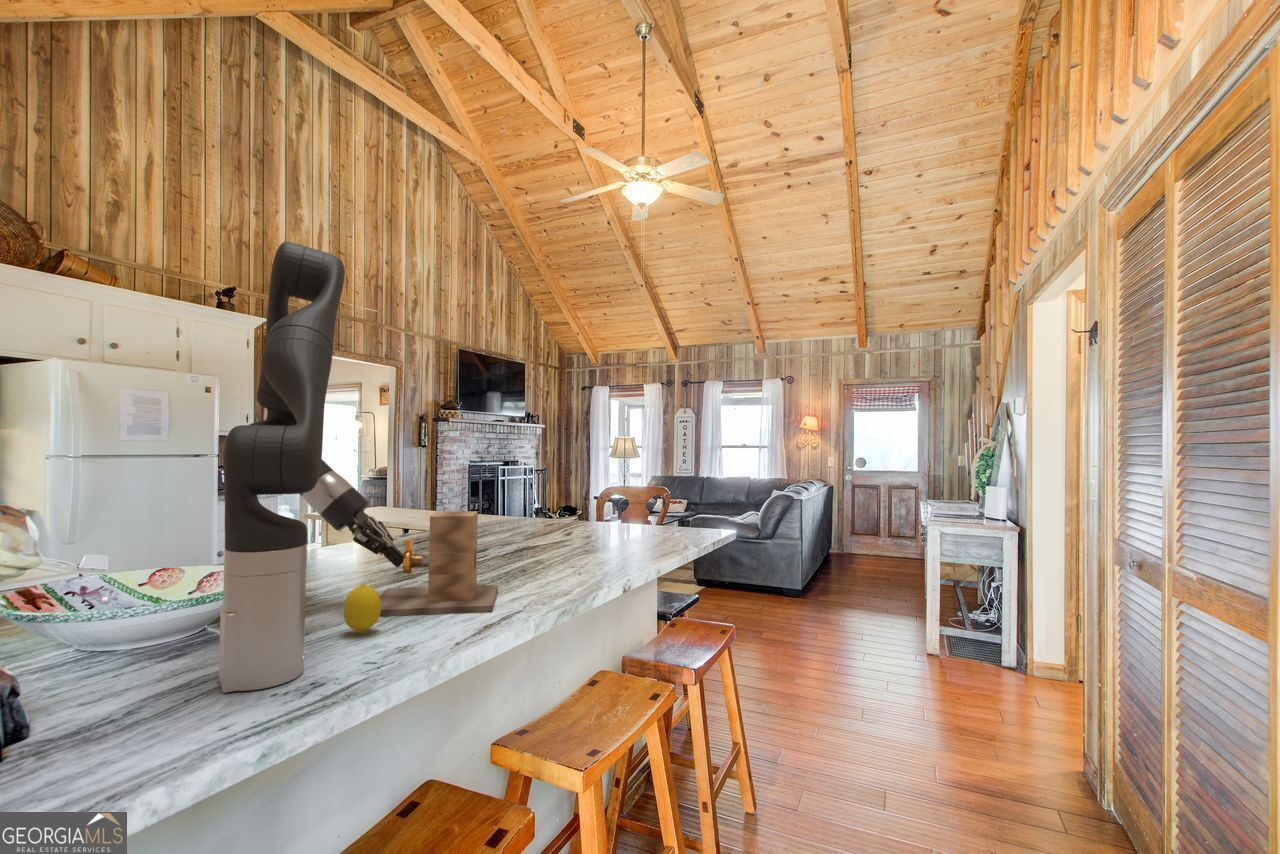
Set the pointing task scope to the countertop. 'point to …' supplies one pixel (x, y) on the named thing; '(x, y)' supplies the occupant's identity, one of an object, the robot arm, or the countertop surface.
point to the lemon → (362, 608)
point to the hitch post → (446, 572)
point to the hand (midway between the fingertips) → (402, 563)
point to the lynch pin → (413, 558)
